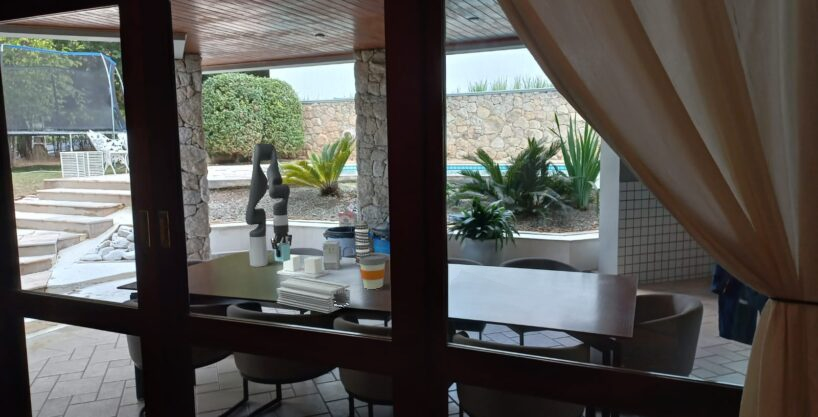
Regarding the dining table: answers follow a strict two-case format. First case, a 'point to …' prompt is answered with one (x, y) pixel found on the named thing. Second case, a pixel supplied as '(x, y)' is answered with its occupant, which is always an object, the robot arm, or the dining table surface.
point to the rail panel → (311, 268)
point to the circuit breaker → (331, 255)
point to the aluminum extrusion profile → (313, 294)
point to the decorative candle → (361, 240)
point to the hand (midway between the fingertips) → (282, 255)
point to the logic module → (283, 252)
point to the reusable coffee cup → (372, 270)
